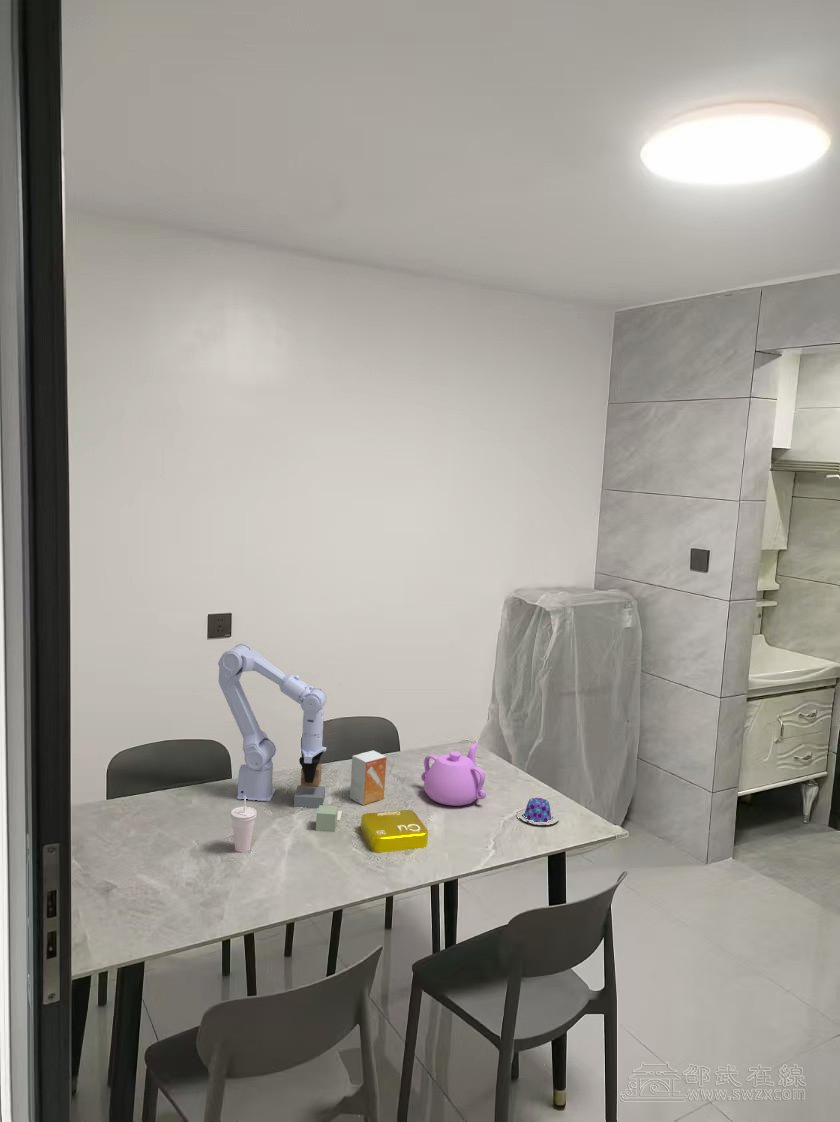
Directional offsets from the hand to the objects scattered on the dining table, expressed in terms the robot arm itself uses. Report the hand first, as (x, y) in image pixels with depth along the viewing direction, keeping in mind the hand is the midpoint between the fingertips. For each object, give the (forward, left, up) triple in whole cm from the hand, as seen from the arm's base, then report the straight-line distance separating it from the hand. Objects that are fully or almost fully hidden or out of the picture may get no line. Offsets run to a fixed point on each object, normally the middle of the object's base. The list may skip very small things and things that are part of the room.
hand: (310, 778), depth 238 cm
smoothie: (-12, -30, -7) cm, 33 cm away
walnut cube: (0, 0, -2) cm, 2 cm away
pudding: (+65, 0, -8) cm, 65 cm away
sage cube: (+7, -15, -7) cm, 18 cm away
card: (+7, -8, -7) cm, 13 cm away
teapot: (+42, +12, -7) cm, 44 cm away
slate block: (0, 0, -7) cm, 7 cm away
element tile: (+25, -18, -8) cm, 32 cm away
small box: (+16, +5, -7) cm, 18 cm away
